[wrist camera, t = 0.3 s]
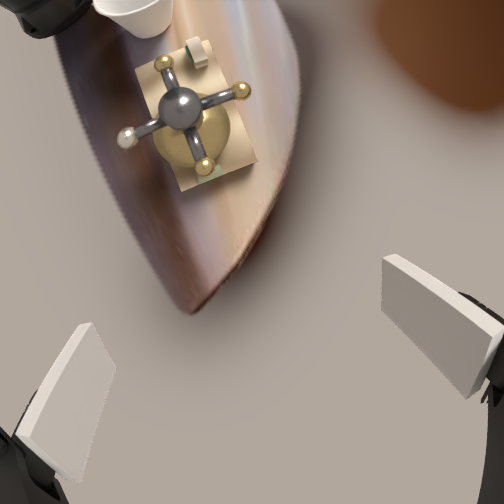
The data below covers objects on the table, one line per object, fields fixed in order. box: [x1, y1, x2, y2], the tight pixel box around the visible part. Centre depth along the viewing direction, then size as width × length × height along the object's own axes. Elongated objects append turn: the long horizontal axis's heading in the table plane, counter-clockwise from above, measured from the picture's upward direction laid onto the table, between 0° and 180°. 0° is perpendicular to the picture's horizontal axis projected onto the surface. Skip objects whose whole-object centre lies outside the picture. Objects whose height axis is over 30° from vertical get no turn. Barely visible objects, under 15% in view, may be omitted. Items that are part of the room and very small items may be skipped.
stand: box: [134, 36, 258, 192], centre depth 30 cm, size 18×10×5 cm, turn 21°
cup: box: [93, 0, 173, 38], centre depth 21 cm, size 10×10×11 cm
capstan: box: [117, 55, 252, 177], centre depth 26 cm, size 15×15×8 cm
